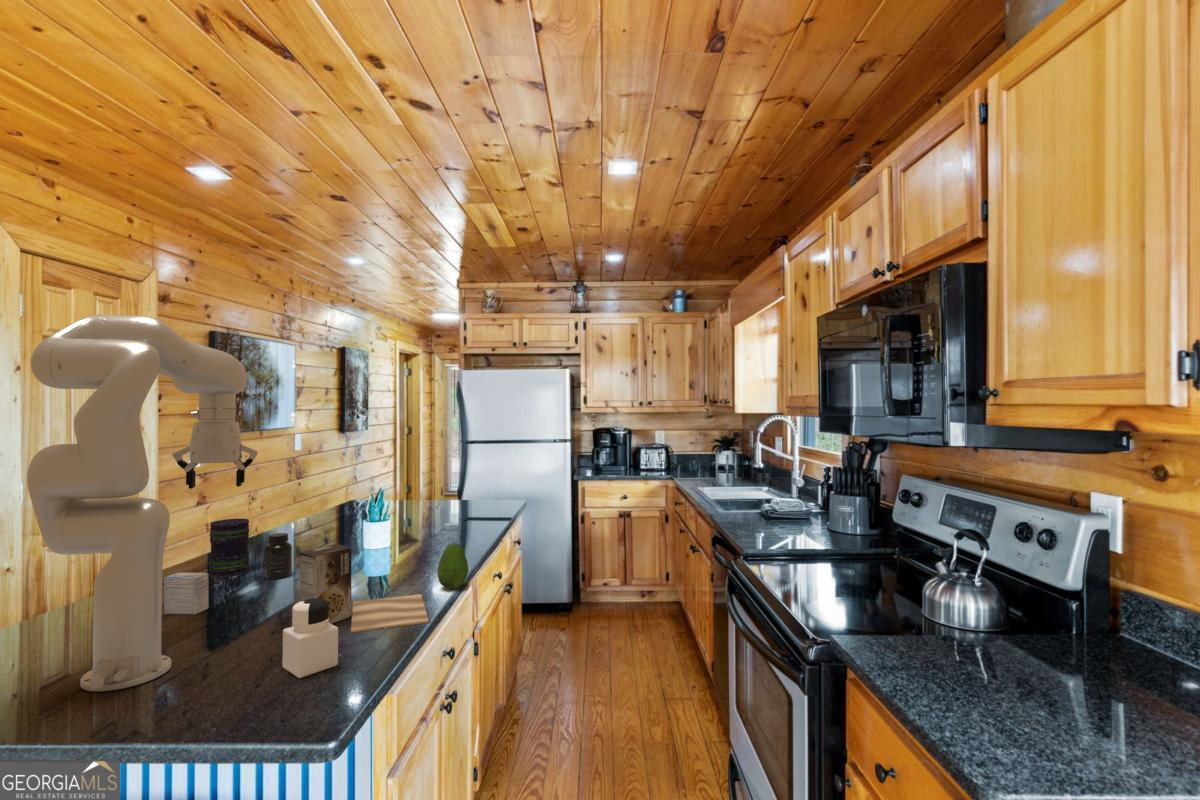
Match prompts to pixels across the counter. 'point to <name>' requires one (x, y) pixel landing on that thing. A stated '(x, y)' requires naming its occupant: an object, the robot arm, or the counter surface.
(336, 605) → the coffee box
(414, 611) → the wooden cutting board
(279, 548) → the supplement bottle
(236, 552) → the dark purple cylinder
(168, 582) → the medicine box
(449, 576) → the avocado
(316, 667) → the medicine bottle
